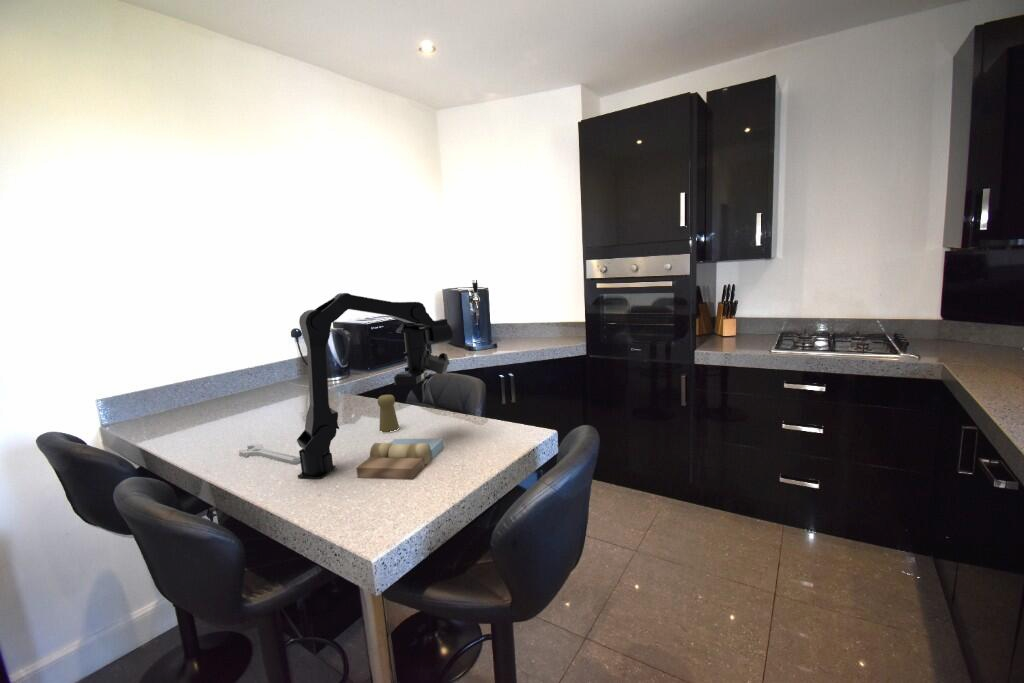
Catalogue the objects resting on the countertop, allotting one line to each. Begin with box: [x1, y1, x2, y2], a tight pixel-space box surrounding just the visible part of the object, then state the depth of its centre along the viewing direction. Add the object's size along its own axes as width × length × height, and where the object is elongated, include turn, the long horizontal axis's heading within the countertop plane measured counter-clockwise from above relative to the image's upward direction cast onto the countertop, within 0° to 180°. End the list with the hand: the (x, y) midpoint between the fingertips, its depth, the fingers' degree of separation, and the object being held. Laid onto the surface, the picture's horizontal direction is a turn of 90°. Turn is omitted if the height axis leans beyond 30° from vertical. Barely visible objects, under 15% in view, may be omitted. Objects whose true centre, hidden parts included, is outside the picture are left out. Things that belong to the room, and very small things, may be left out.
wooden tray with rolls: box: [356, 442, 431, 480], centre depth 111 cm, size 14×11×5 cm
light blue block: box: [388, 438, 445, 460], centre depth 118 cm, size 14×13×5 cm
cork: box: [377, 394, 400, 432], centre depth 141 cm, size 6×6×11 cm
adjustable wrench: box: [238, 443, 301, 466], centre depth 125 cm, size 25×6×2 cm, turn 56°
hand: (421, 402), depth 128 cm, fingers closed
